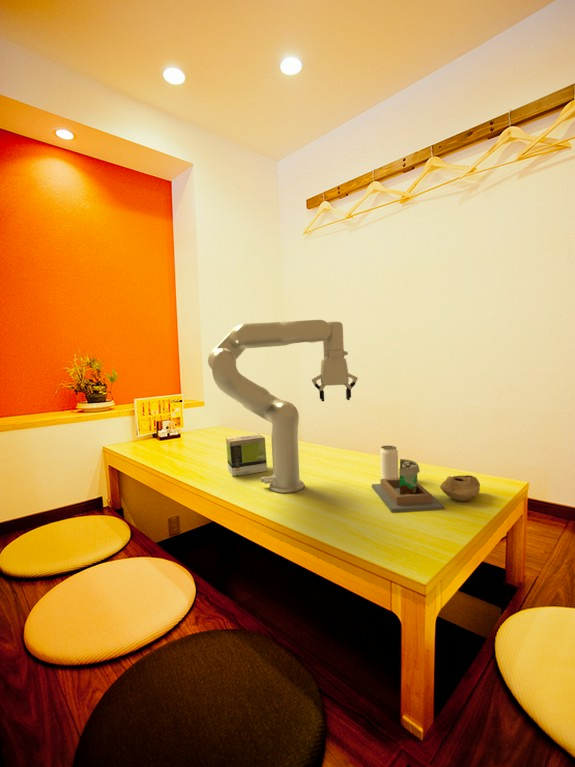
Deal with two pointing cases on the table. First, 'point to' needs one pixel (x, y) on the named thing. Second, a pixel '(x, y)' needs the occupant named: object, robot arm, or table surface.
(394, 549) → the table surface
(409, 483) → the food container
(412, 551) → the table surface
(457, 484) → the oil lamp
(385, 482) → the tray
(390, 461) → the can
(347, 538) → the table surface
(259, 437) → the tea box
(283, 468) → the robot arm
